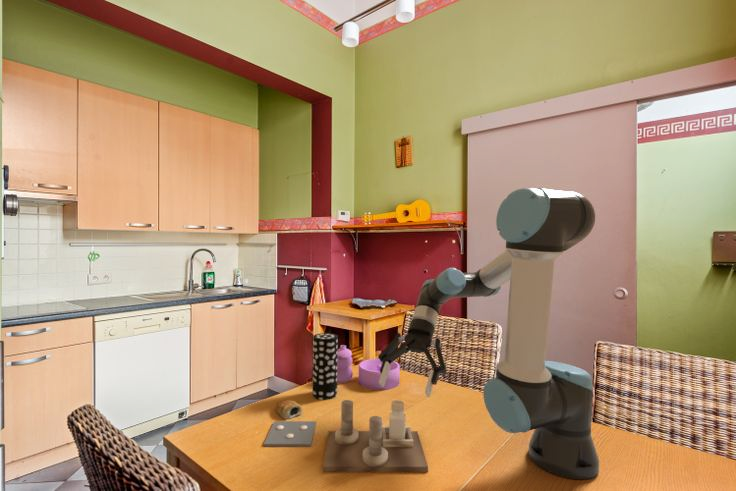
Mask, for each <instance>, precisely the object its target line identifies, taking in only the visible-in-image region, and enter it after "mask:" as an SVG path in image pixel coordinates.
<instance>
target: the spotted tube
mask: <svg viewBox="0 0 736 491" xmlns="http://www.w3.org/2000/svg"><path fill="white" fill-rule="evenodd" d="M338 337H339V335H338V334H336V333H335V334H334V333H329V332H328V333H327V332H326V333H325V332H324V333H317V334H314V335H312V397H313V398H314V399H317V400H320V401H326V400H331V399H335V398H336V397H337V395H338V382H337V353H338V349H339V348H338V345H339V344H338V343H339V341H338V340H339V338H338Z"/></svg>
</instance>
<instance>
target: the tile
mask: <svg viewBox="0 0 736 491" xmlns="http://www.w3.org/2000/svg"><path fill="white" fill-rule="evenodd" d="M316 426H317V421H315V420H314V421H313V420H312V421H311V420H310V421H309V420H307V421H305V420H303V421H301V420H300V421H299V420H298V421H297V420H293V421H291V420H288V421H287V420H282V421H281V420H277V421H275V420H274V421H273V423H272V425H271V427H270V430H269V432H268V434H267V436H266V437H265V440H264V443H263V447H312V445H313V444H312V443H313V439H314V435H315V430H316Z"/></svg>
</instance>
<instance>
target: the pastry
mask: <svg viewBox="0 0 736 491" xmlns="http://www.w3.org/2000/svg"><path fill="white" fill-rule="evenodd" d="M275 410H276V411H277V415H279V416H280V418H282V419H284V420H290V419H294V418H295V417H298V416H300V415H301V414H302V413H303V408H302V405H300V404H299V403H297V401H295V400H280V401H279V400H278V401H277V403H276V404H275Z"/></svg>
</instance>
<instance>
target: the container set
mask: <svg viewBox="0 0 736 491" xmlns="http://www.w3.org/2000/svg"><path fill="white" fill-rule="evenodd" d="M352 352H353V351H352V350H350V349H349V348H347V345H345V344H341V345H340V347H339V348H338V353H337V383H339V384H347V383H348V382H350V381H351V379H352V378H353V375H354V374H353V369H352V367H351V366H352V364H353V360H354V359H353V358H352V355H353V353H352ZM382 363H383V362H381V361H380V359H379V358H370V359H366V360H365V359H364V360H362V361H360V362H359V363H358V384H359V386H361V387H363V388H365V389H369V390H374V391H375V390H376V391H384V390H385V391H387V390H392V389H395V388H397V387H398V386H399V385H400V379H401V378H400V377H401V376H400V371H401V370H400V366H401V365H400V364H399V362H397V361H396V360H394V361H393V362H392V363H390V366H391V367H390V370H389V373H388V376H387V379H386V382H385V385H384V387H381V385H380V384H379V380H380V377H381V373H380V369H381V366H382Z"/></svg>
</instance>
